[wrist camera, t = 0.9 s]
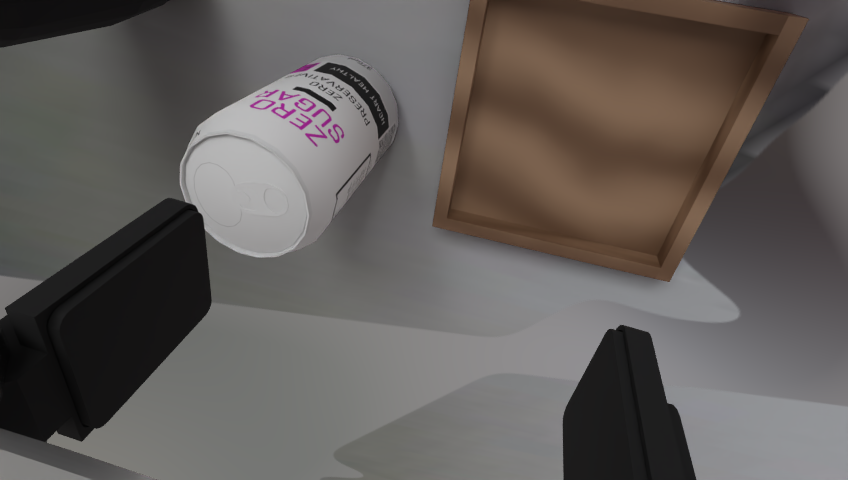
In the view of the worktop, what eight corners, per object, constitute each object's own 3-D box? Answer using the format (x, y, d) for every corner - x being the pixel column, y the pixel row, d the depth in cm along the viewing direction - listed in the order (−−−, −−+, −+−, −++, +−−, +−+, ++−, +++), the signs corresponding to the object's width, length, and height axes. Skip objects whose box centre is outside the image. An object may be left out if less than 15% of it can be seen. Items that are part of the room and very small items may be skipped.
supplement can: (307, 157, 40) (195, 259, 27) (289, 51, 35) (145, 115, 23) (403, 163, 38) (330, 275, 26) (397, 52, 34) (305, 122, 21)
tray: (481, -40, 30) (476, -38, 28) (792, 13, 28) (808, 19, 26) (437, 212, 40) (432, 226, 38) (663, 265, 38) (669, 282, 36)
